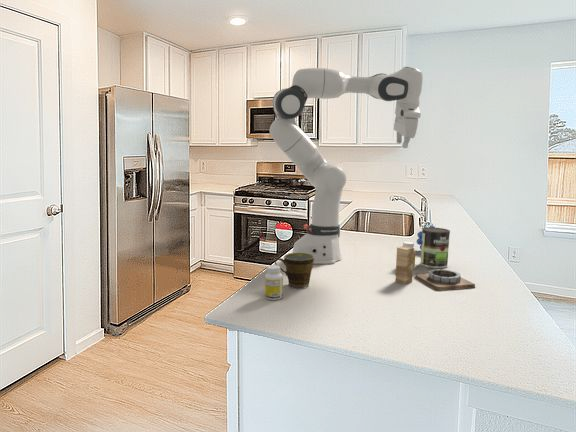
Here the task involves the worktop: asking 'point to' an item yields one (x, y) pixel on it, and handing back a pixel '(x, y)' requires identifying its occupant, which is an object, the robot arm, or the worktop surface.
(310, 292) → the worktop surface
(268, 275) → the supplement bottle
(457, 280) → the grey stone ring
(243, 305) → the worktop surface
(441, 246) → the coffee can
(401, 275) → the oak post
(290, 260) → the ceramic cup
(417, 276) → the walnut board
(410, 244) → the supplement bottle
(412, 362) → the worktop surface
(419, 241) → the grapes
